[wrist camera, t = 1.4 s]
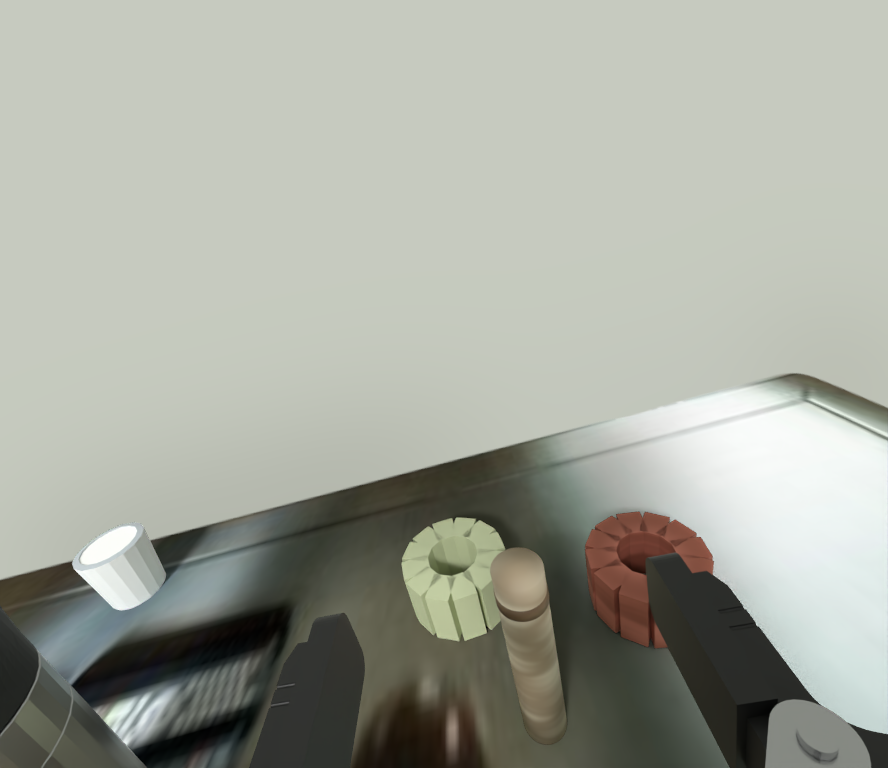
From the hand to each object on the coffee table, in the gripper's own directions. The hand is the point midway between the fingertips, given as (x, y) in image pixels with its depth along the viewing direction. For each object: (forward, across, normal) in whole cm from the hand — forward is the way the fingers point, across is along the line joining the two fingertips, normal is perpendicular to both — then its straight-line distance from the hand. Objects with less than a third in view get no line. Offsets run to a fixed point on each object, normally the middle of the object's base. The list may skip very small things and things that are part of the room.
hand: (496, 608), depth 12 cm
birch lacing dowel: (+11, 0, +24) cm, 27 cm away
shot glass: (+30, +42, +22) cm, 57 cm away
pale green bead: (+23, +5, +24) cm, 33 cm away
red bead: (+20, -11, +24) cm, 33 cm away
